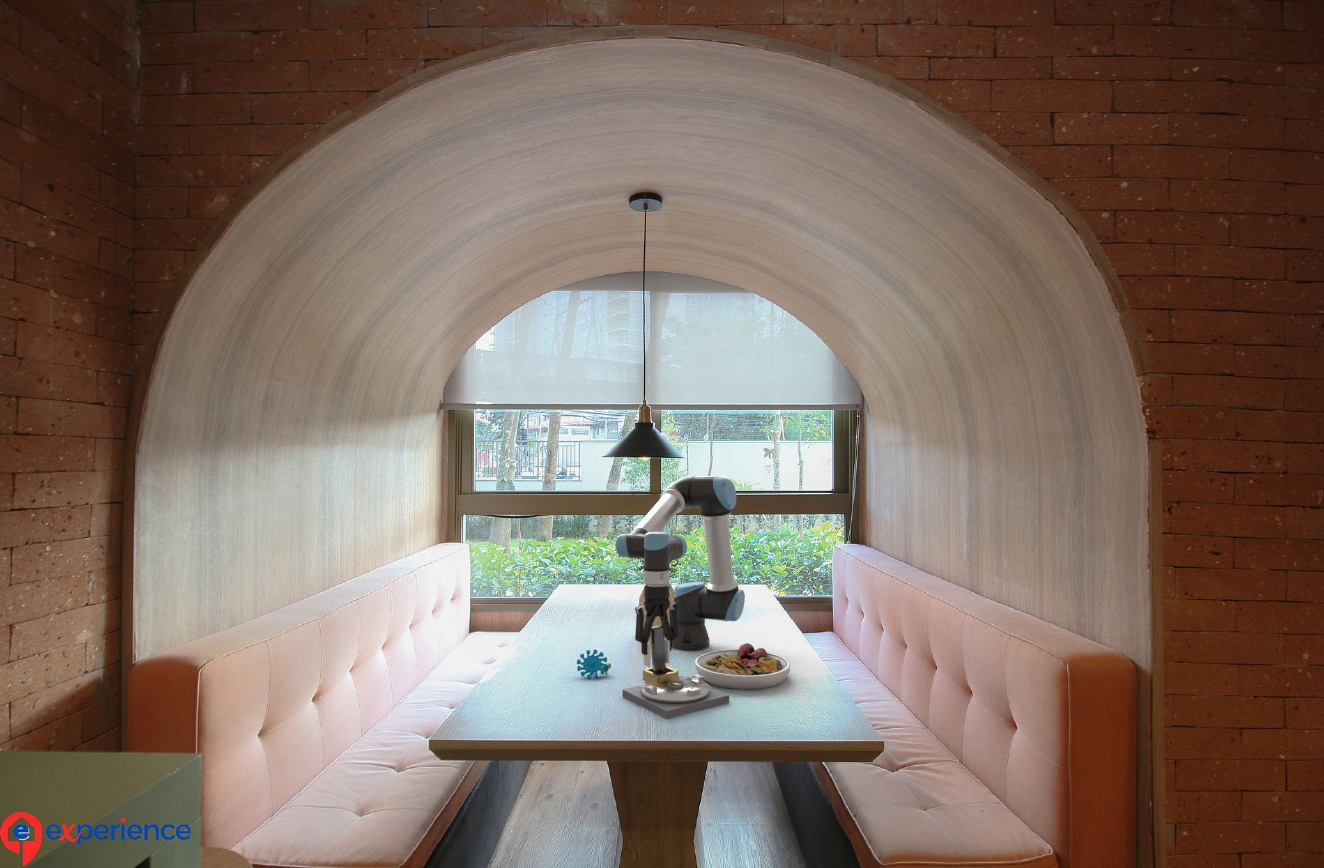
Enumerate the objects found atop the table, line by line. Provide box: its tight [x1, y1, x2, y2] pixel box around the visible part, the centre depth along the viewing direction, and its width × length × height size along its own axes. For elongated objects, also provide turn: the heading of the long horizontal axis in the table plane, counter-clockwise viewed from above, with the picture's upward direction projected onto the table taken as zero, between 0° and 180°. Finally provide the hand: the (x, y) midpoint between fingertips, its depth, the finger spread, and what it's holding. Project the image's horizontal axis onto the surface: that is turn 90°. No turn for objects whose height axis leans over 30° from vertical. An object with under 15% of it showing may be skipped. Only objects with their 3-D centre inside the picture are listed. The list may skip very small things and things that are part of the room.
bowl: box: [694, 642, 791, 690], centre depth 217 cm, size 30×30×8 cm
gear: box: [576, 649, 612, 680], centre depth 219 cm, size 11×6×10 cm
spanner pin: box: [650, 624, 667, 675], centre depth 201 cm, size 4×4×16 cm
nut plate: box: [621, 675, 730, 720], centre depth 196 cm, size 22×22×2 cm
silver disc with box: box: [640, 665, 710, 703], centre depth 196 cm, size 21×20×4 cm
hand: (656, 663), depth 201 cm, fingers open, 6 cm apart
